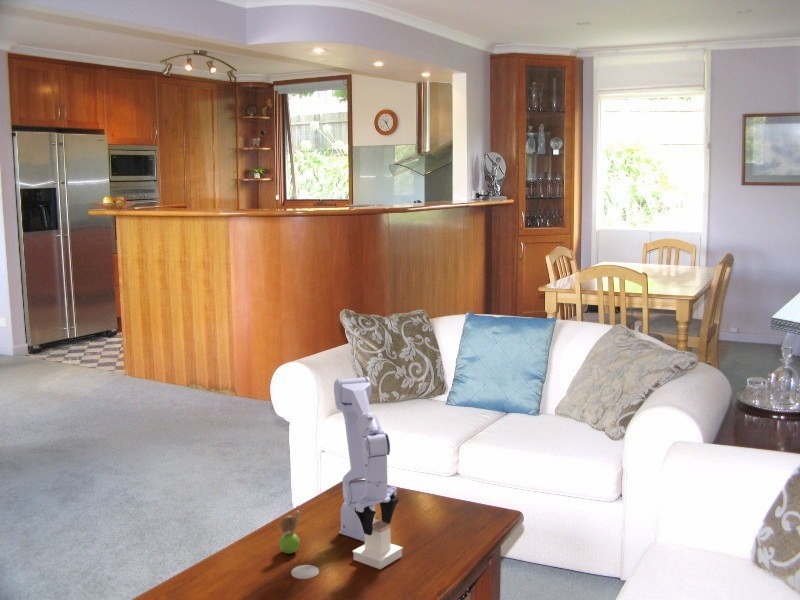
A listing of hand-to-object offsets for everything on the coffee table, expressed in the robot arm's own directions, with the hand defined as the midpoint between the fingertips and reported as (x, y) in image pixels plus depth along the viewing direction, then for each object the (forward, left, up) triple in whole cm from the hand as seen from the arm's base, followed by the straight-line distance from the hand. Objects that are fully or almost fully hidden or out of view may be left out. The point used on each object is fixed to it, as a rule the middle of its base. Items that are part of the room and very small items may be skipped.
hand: (377, 528), depth 218 cm
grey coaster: (-10, -17, -9) cm, 21 cm away
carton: (0, 0, -6) cm, 6 cm away
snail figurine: (-21, -11, -8) cm, 25 cm away
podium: (0, 0, -8) cm, 8 cm away
